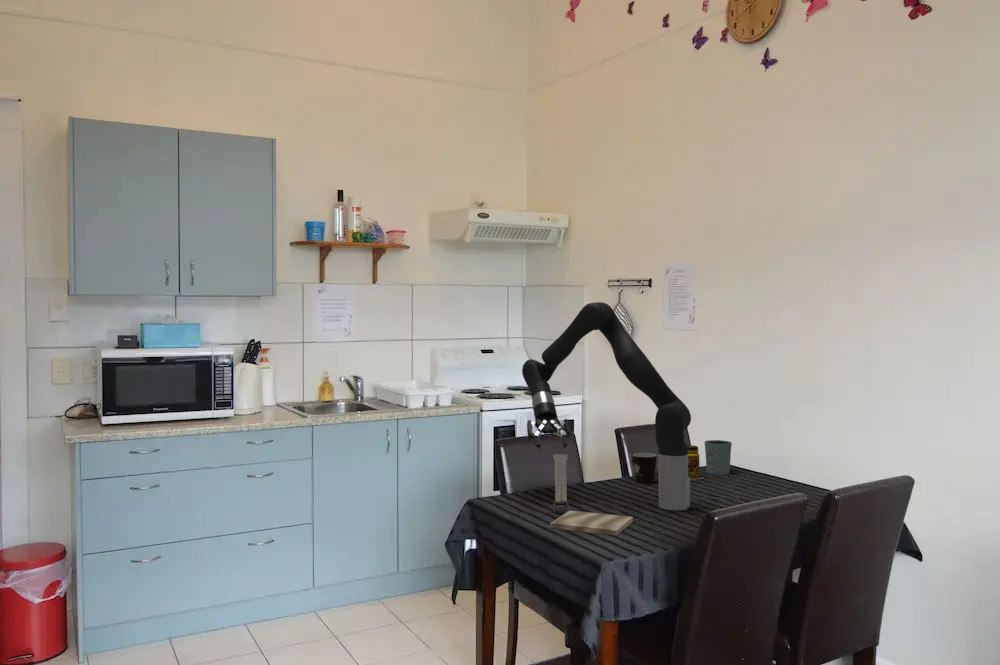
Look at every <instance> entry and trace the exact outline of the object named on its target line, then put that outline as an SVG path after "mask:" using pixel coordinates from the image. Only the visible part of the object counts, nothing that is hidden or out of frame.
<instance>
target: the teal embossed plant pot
mask: <svg viewBox="0 0 1000 665" xmlns="http://www.w3.org/2000/svg"><path fill="white" fill-rule="evenodd" d="M704 450H705V464H706V466H705V467H706V473H707V474H708V473H709V475H716V476H726V475H730V472H731V454H732V453H731V452H732V441H729V440H722V439H714V440H713V439H711V440H705V441H704Z"/></svg>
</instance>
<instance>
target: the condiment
mask: <svg viewBox="0 0 1000 665" xmlns="http://www.w3.org/2000/svg"><path fill="white" fill-rule="evenodd" d="M687 446H688V477H690V481H695V480H702V479H704V477H702V476H700V454H699V447H698V445H692V444H691V445H688V444H687Z"/></svg>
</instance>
